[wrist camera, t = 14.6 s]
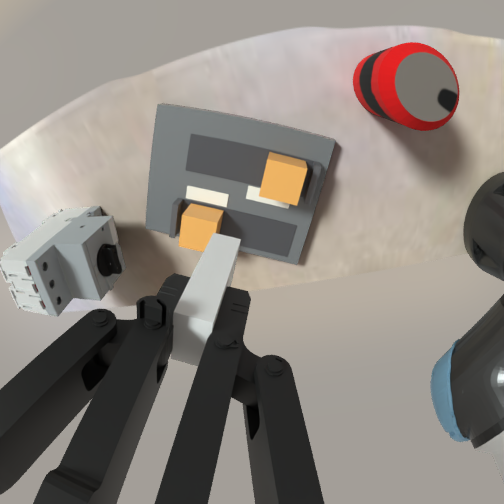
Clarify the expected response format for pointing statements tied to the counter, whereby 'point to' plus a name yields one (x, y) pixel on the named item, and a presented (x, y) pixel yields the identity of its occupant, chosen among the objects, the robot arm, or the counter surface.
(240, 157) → the switch board
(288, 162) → the tab
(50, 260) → the circuit breaker
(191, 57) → the counter surface
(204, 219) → the tab
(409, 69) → the soda can
